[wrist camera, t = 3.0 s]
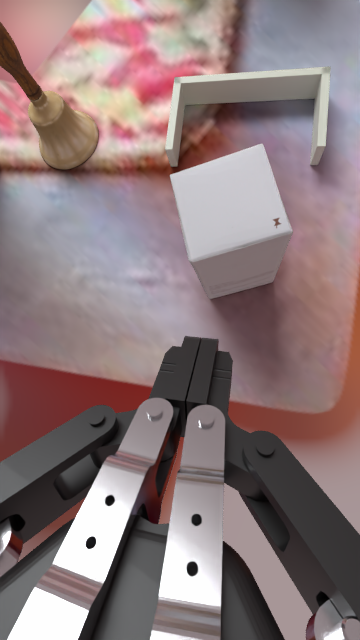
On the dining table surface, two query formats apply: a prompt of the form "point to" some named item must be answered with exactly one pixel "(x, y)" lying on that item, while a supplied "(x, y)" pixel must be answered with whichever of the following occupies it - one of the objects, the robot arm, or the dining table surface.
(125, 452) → the robot arm
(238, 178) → the supplement box
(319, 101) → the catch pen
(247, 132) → the dining table surface
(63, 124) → the hand bell
